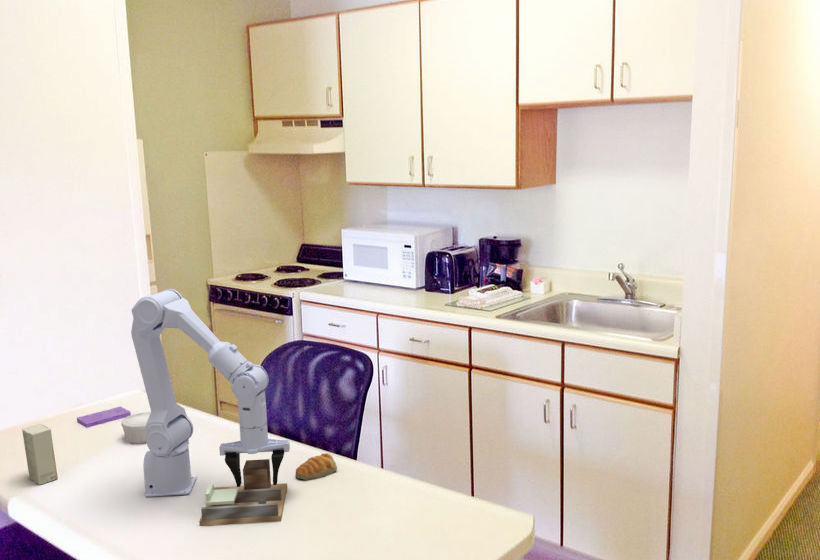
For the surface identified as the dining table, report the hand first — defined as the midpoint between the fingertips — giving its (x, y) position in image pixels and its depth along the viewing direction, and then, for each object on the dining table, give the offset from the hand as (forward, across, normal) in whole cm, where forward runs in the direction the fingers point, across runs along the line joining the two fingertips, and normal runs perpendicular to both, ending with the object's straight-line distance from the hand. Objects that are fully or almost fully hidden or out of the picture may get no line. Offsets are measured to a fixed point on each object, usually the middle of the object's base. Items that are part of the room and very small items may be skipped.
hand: (257, 484), depth 161 cm
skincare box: (+3, -51, +15) cm, 53 cm away
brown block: (+2, 0, 0) cm, 2 cm away
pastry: (+3, +12, +10) cm, 16 cm away
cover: (-1, -6, -8) cm, 10 cm away
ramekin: (+3, -34, +38) cm, 51 cm away
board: (+3, -2, -4) cm, 6 cm away
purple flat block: (+3, -50, +54) cm, 73 cm away
